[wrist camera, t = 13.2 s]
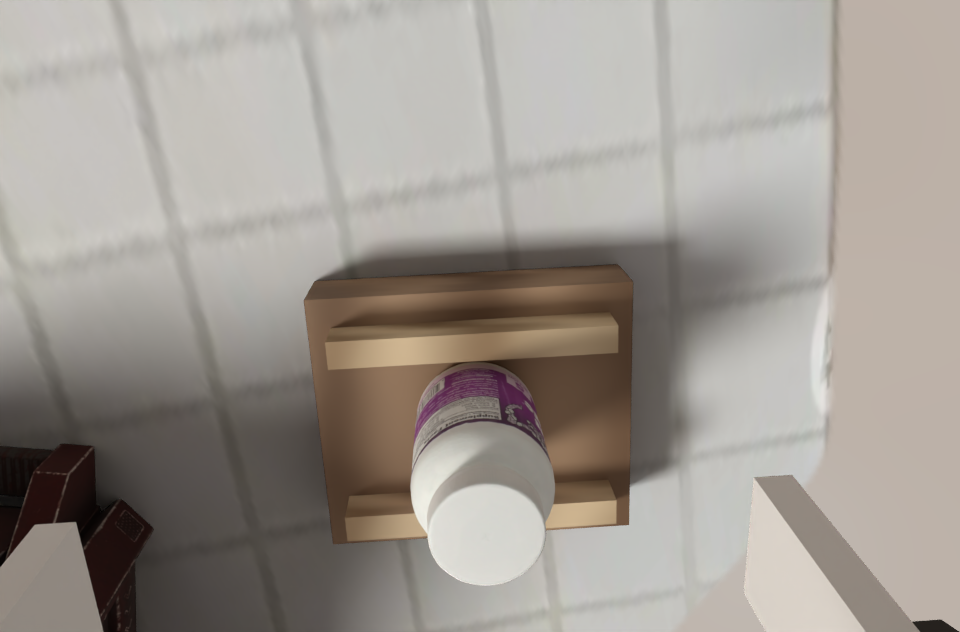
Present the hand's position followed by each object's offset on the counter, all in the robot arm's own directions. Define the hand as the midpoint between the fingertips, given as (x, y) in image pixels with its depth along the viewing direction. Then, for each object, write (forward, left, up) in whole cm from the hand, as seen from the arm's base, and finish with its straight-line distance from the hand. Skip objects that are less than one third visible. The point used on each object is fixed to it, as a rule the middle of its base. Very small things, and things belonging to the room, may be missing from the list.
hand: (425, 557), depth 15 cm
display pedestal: (+2, -6, -22) cm, 23 cm away
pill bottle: (+2, -6, -19) cm, 20 cm away
